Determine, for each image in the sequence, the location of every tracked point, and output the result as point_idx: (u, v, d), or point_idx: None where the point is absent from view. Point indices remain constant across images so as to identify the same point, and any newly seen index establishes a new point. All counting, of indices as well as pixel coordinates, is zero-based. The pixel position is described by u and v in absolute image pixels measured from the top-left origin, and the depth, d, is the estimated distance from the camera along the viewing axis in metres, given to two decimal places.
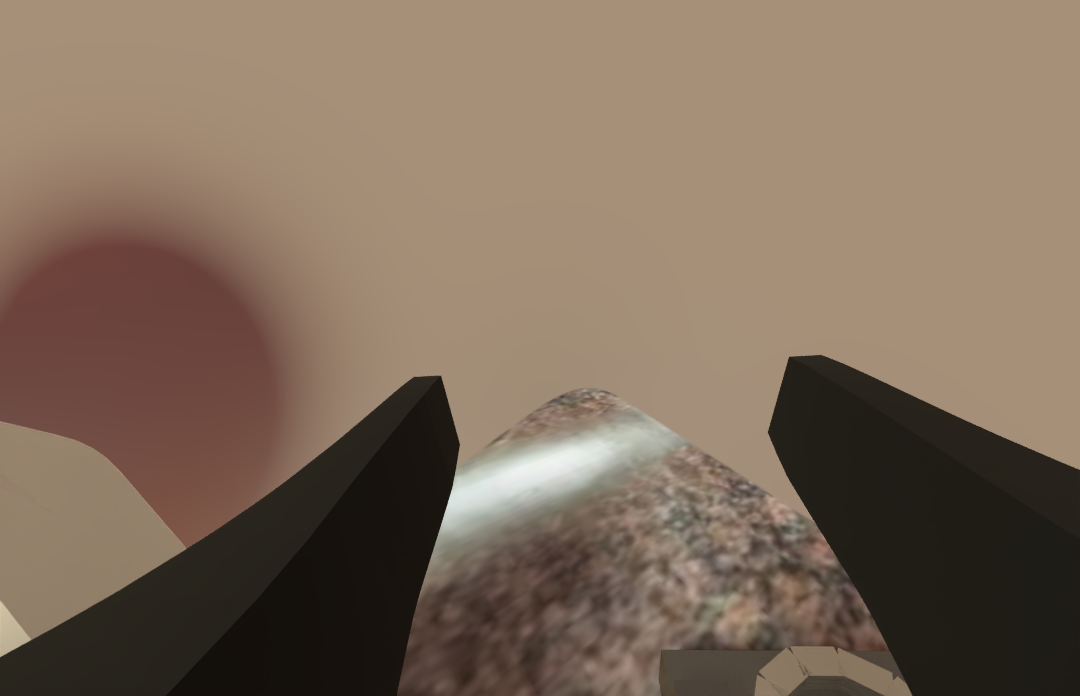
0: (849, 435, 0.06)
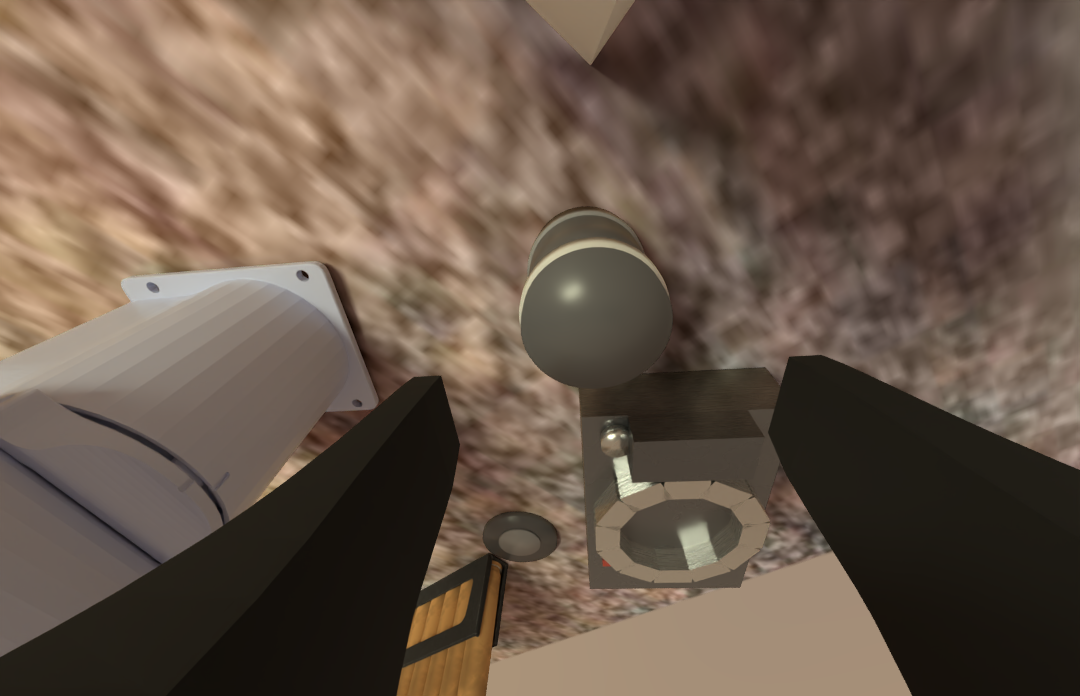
0: (850, 435, 0.06)
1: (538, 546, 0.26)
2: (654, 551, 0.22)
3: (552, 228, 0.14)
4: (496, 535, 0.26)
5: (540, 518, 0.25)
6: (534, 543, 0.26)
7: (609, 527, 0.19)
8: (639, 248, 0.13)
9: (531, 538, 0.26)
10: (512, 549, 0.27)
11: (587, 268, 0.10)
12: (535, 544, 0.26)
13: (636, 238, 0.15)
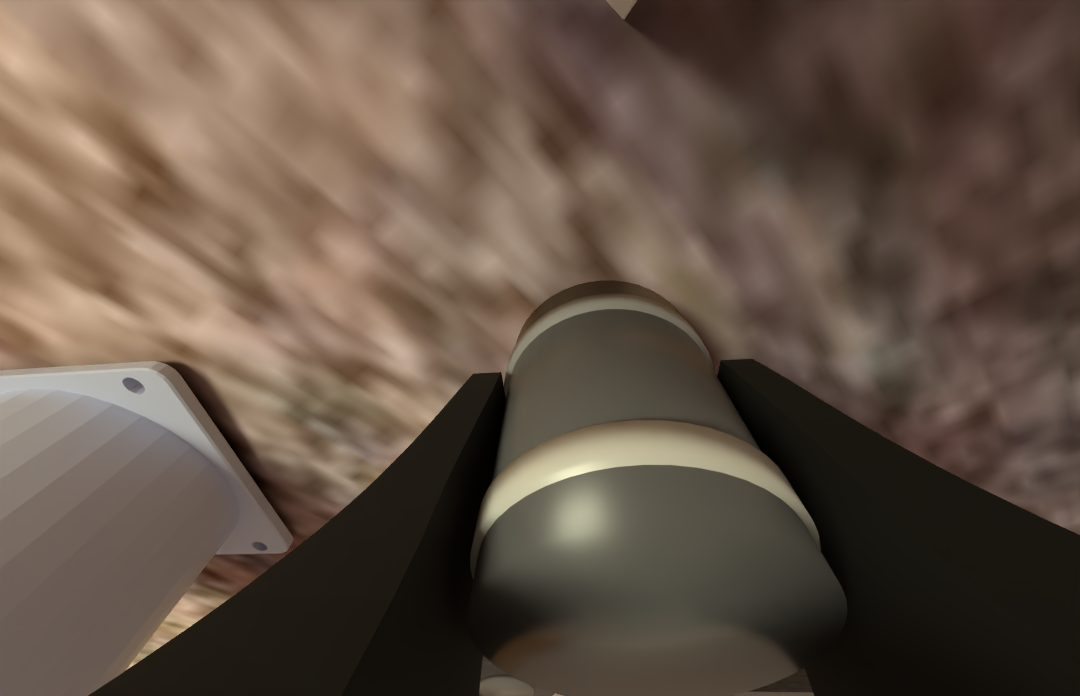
0: (764, 439, 0.06)
1: (531, 694, 0.20)
2: None
3: (547, 332, 0.08)
4: None
5: None
6: (525, 691, 0.19)
7: None
8: (727, 399, 0.06)
9: (522, 687, 0.19)
10: None
11: (637, 545, 0.04)
12: (528, 692, 0.20)
13: (702, 348, 0.08)
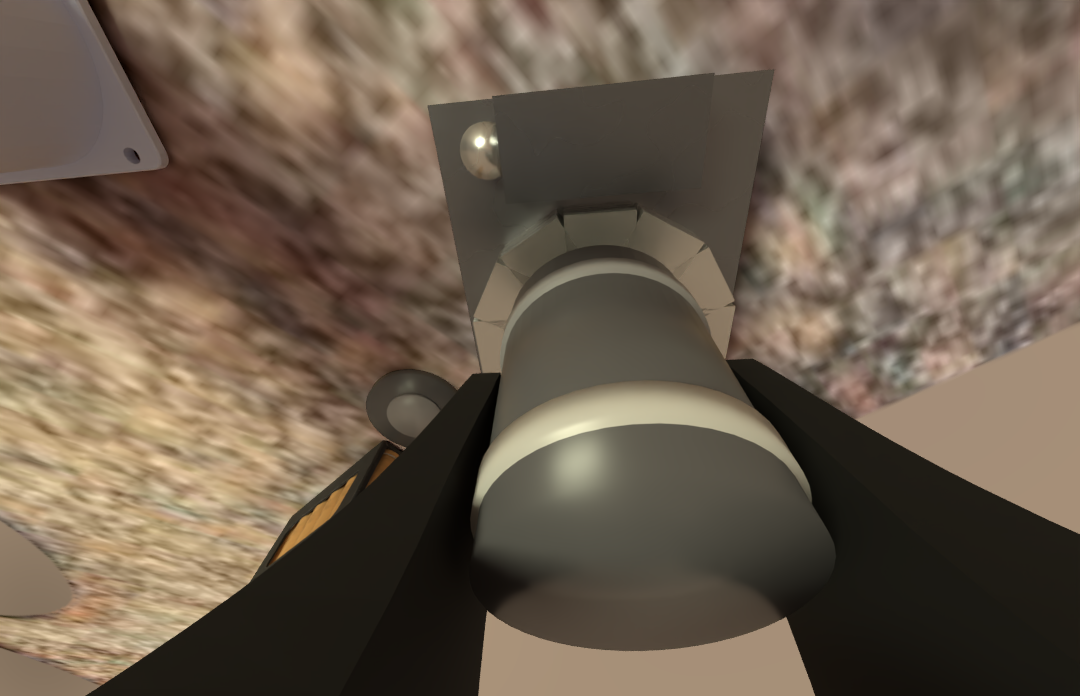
0: None
1: None
2: None
3: (539, 300, 0.08)
4: (383, 405, 0.20)
5: (438, 379, 0.19)
6: (433, 416, 0.20)
7: (493, 322, 0.13)
8: (720, 358, 0.06)
9: (428, 408, 0.19)
10: (406, 427, 0.20)
11: (626, 501, 0.04)
12: None
13: (697, 308, 0.08)
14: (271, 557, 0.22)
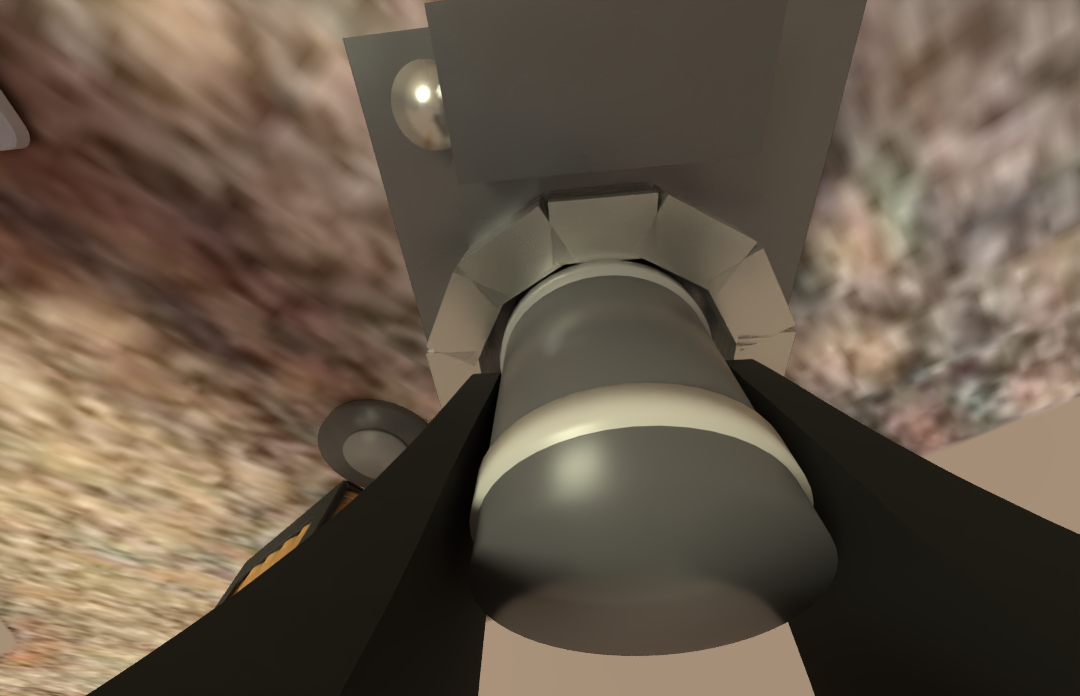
0: None
1: None
2: None
3: (539, 302, 0.08)
4: (339, 442, 0.16)
5: (404, 411, 0.15)
6: None
7: (455, 354, 0.09)
8: (721, 360, 0.06)
9: (393, 446, 0.16)
10: (368, 467, 0.17)
11: (626, 503, 0.04)
12: None
13: (698, 311, 0.08)
14: None
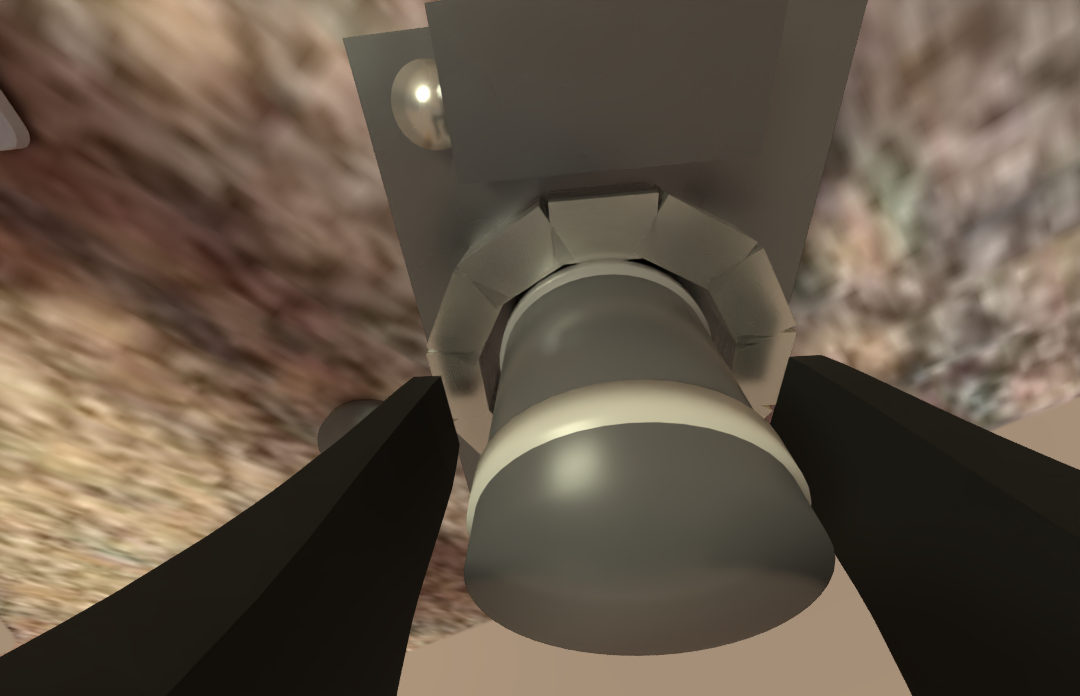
0: (850, 435, 0.06)
1: None
2: None
3: (539, 301, 0.08)
4: None
5: None
6: None
7: (455, 354, 0.09)
8: (720, 359, 0.06)
9: None
10: None
11: (622, 499, 0.04)
12: None
13: (697, 311, 0.08)
14: None
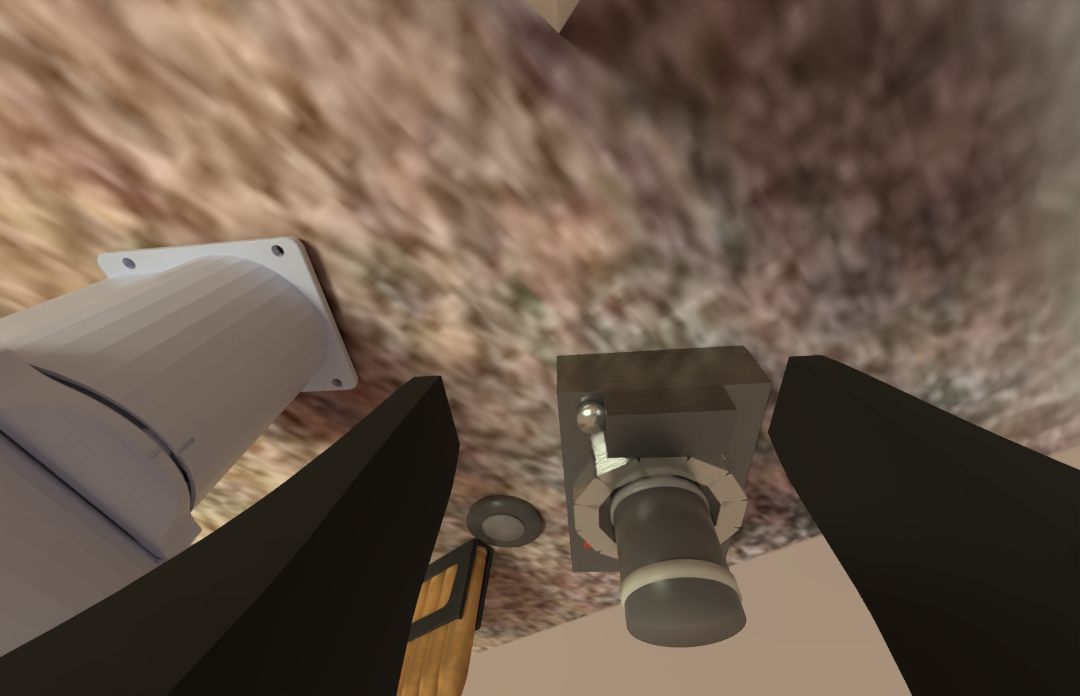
0: (850, 435, 0.06)
1: (522, 531, 0.26)
2: None
3: (635, 495, 0.18)
4: (479, 521, 0.26)
5: (521, 503, 0.25)
6: (517, 528, 0.26)
7: (587, 505, 0.19)
8: (712, 535, 0.16)
9: (514, 523, 0.26)
10: (496, 534, 0.27)
11: (683, 602, 0.14)
12: (519, 529, 0.26)
13: (703, 498, 0.18)
14: None
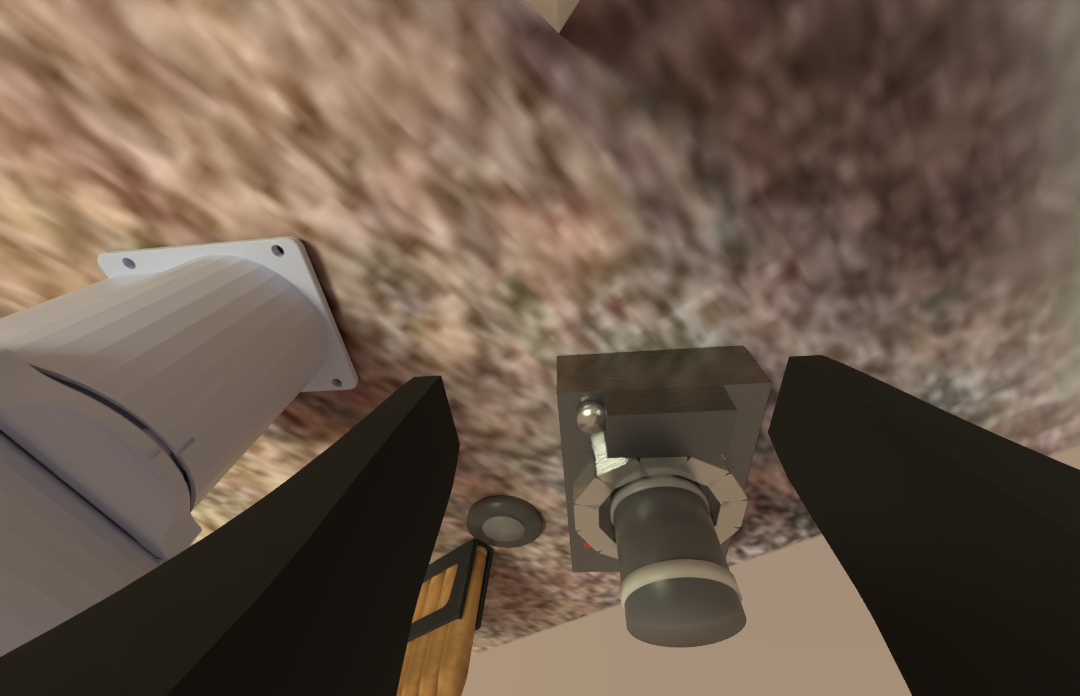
0: (850, 435, 0.06)
1: (522, 530, 0.26)
2: None
3: (635, 495, 0.18)
4: (479, 524, 0.26)
5: (517, 503, 0.25)
6: (517, 528, 0.26)
7: (587, 505, 0.19)
8: (712, 535, 0.16)
9: (513, 523, 0.26)
10: (498, 535, 0.27)
11: (683, 602, 0.14)
12: (519, 529, 0.26)
13: (703, 498, 0.18)
14: None
